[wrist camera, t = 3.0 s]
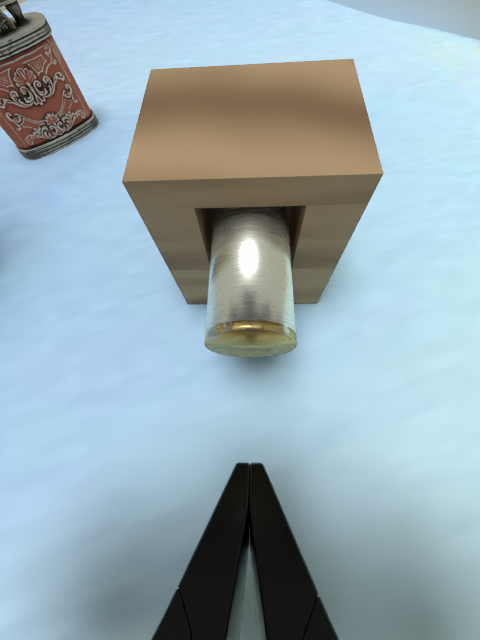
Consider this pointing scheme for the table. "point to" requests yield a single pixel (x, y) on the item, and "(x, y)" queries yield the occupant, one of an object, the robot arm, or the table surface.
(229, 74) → the walnut block
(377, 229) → the table surface
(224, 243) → the silver and gold cylinder
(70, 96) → the lighter
